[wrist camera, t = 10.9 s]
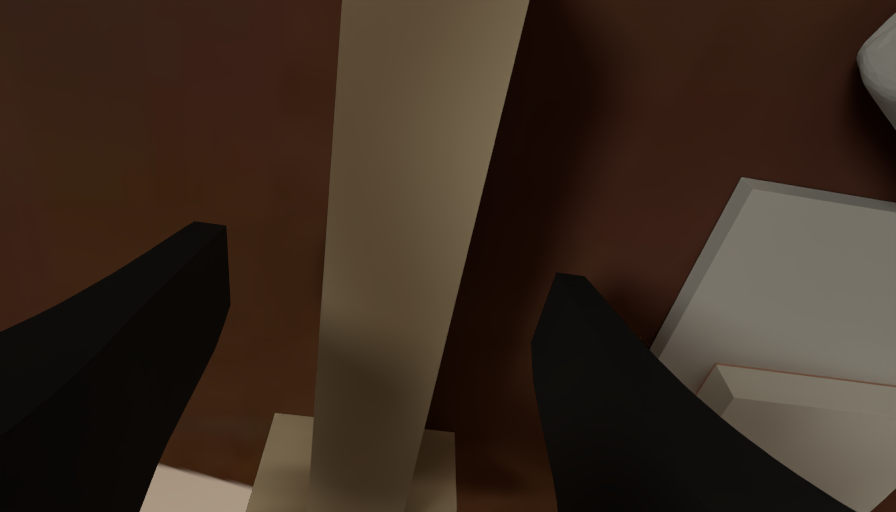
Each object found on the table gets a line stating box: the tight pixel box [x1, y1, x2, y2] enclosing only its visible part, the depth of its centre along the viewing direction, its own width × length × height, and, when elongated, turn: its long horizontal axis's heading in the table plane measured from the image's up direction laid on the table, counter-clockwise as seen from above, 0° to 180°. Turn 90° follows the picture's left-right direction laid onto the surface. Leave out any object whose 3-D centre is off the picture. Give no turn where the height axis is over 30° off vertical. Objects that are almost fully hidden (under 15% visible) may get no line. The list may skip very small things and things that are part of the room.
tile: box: [695, 363, 896, 512], centre depth 19 cm, size 7×2×9 cm
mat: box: [649, 177, 896, 394], centre depth 18 cm, size 10×14×1 cm
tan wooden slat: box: [246, 0, 529, 512], centre depth 13 cm, size 6×16×4 cm, turn 170°
